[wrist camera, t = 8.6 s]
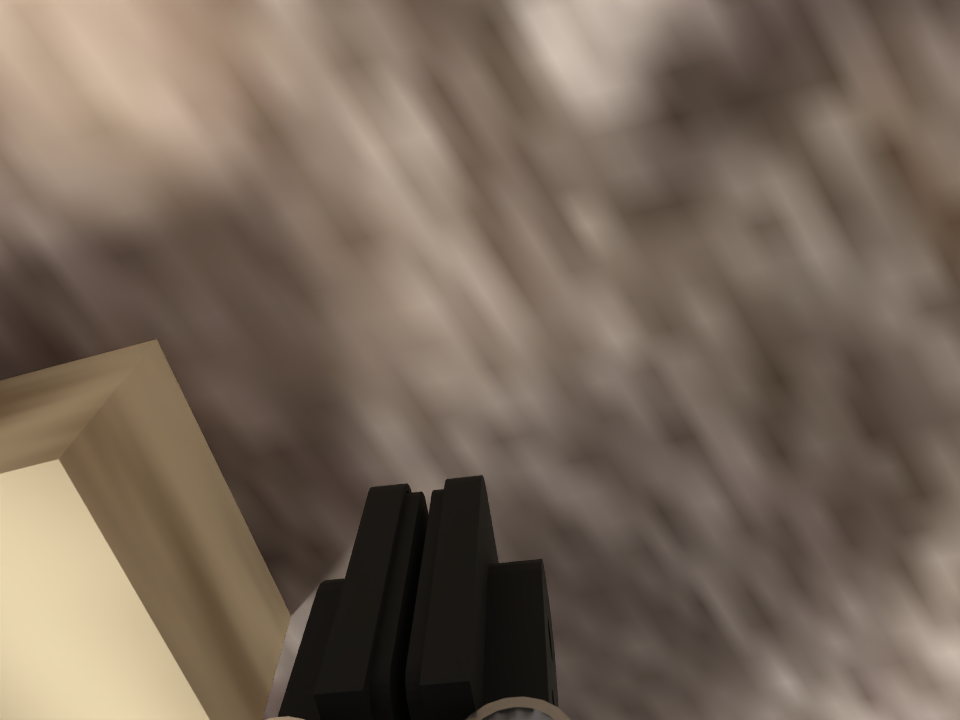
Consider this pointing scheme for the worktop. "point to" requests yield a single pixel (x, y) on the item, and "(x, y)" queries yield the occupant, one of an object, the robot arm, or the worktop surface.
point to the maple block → (125, 554)
